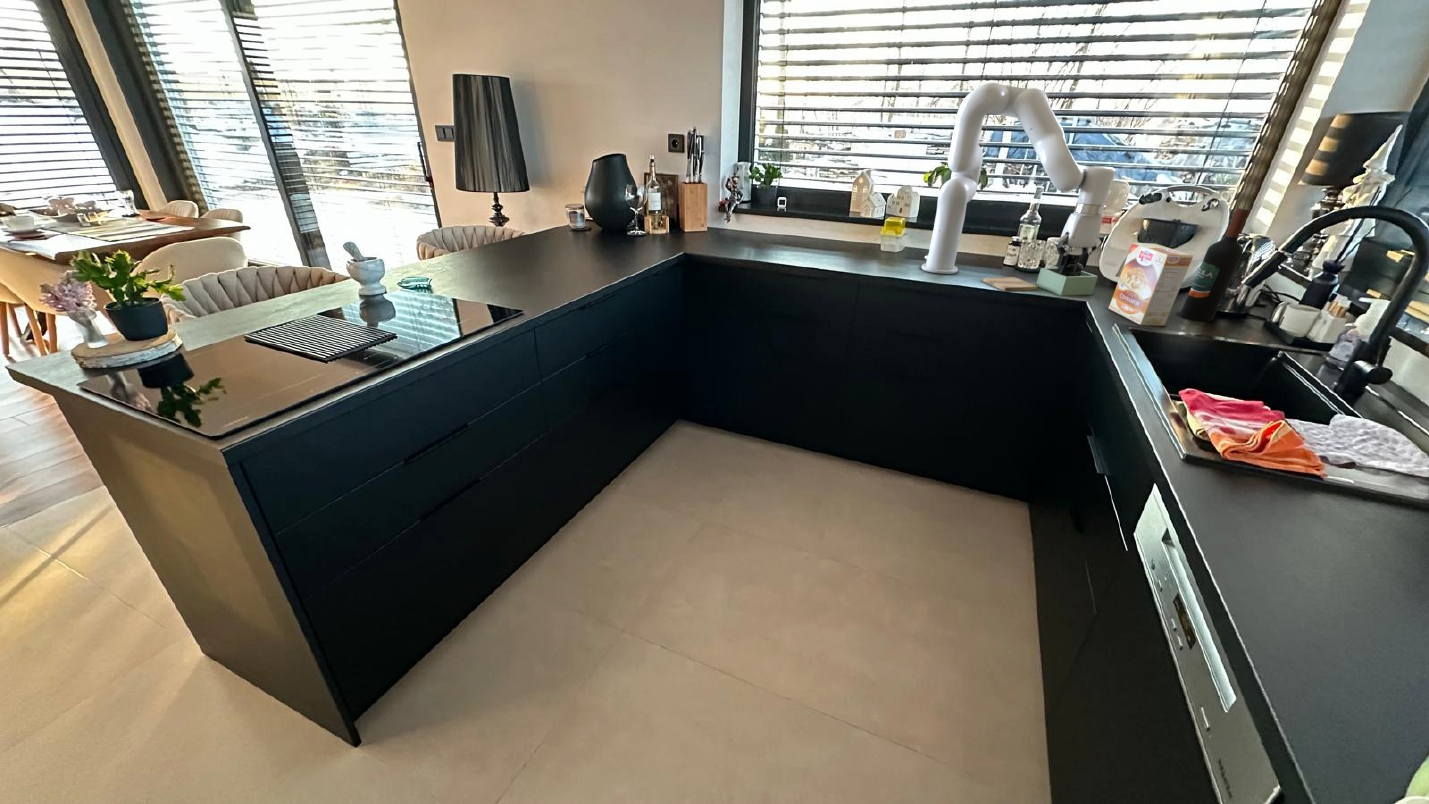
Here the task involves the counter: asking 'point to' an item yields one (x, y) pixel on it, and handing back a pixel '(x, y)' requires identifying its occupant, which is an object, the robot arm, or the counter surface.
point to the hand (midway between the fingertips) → (1070, 266)
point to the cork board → (1010, 284)
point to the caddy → (1066, 282)
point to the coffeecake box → (1149, 283)
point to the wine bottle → (1215, 273)
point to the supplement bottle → (1072, 265)
